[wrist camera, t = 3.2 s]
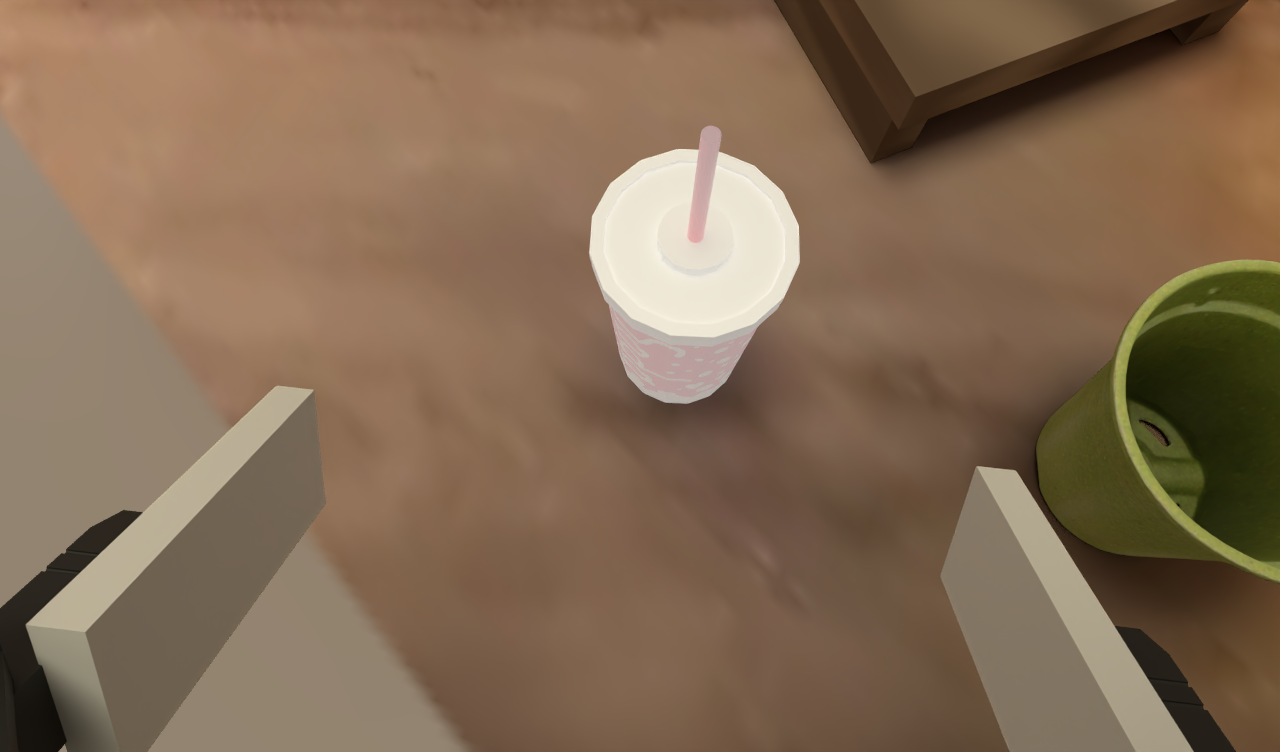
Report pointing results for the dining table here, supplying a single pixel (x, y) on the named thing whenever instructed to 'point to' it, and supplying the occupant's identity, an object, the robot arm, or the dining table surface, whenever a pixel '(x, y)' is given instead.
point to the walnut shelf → (965, 50)
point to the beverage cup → (691, 265)
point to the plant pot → (1180, 427)
